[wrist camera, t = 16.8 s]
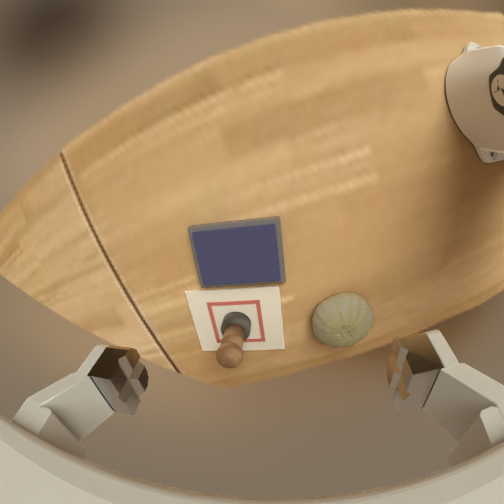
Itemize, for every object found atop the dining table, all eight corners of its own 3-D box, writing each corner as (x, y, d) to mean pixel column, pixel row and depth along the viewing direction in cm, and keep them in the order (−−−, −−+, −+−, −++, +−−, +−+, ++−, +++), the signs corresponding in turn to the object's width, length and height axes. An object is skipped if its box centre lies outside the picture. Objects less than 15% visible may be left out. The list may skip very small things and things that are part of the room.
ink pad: (279, 216, 36) (279, 219, 35) (285, 278, 39) (285, 283, 38) (189, 225, 38) (186, 229, 36) (202, 284, 41) (200, 289, 40)
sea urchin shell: (305, 298, 38) (353, 319, 32) (338, 276, 43) (382, 292, 37) (305, 346, 42) (347, 369, 36) (336, 322, 46) (374, 340, 40)
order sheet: (279, 285, 40) (279, 286, 40) (284, 347, 44) (284, 349, 44) (185, 290, 42) (184, 292, 41) (203, 349, 46) (202, 351, 46)
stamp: (249, 310, 42) (241, 352, 33) (252, 333, 43) (246, 375, 35) (220, 312, 42) (207, 352, 34) (225, 334, 44) (214, 375, 36)
